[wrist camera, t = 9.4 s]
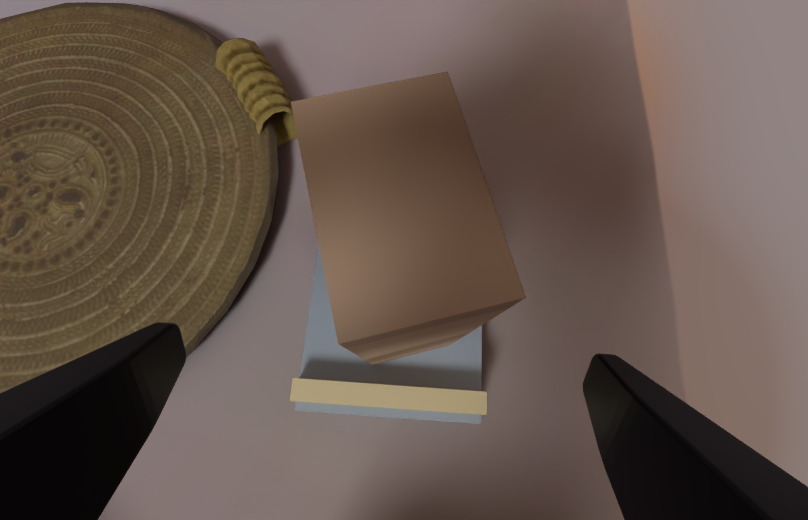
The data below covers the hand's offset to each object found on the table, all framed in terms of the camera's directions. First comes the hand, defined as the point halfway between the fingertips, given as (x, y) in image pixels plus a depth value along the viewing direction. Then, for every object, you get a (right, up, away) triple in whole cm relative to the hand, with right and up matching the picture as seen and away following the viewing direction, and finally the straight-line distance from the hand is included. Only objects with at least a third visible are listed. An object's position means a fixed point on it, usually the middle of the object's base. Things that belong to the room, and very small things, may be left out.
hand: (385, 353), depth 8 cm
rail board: (0, 0, +14) cm, 14 cm away
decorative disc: (-21, +6, +16) cm, 27 cm away
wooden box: (0, 0, +12) cm, 12 cm away
